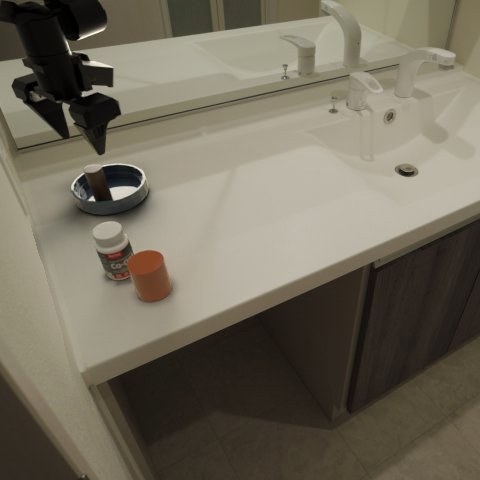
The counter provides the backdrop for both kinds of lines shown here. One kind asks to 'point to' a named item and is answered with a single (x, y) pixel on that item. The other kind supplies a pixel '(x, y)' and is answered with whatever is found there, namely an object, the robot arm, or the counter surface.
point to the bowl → (112, 190)
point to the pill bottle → (113, 249)
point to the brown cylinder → (97, 182)
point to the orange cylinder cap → (149, 275)
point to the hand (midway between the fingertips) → (83, 146)
